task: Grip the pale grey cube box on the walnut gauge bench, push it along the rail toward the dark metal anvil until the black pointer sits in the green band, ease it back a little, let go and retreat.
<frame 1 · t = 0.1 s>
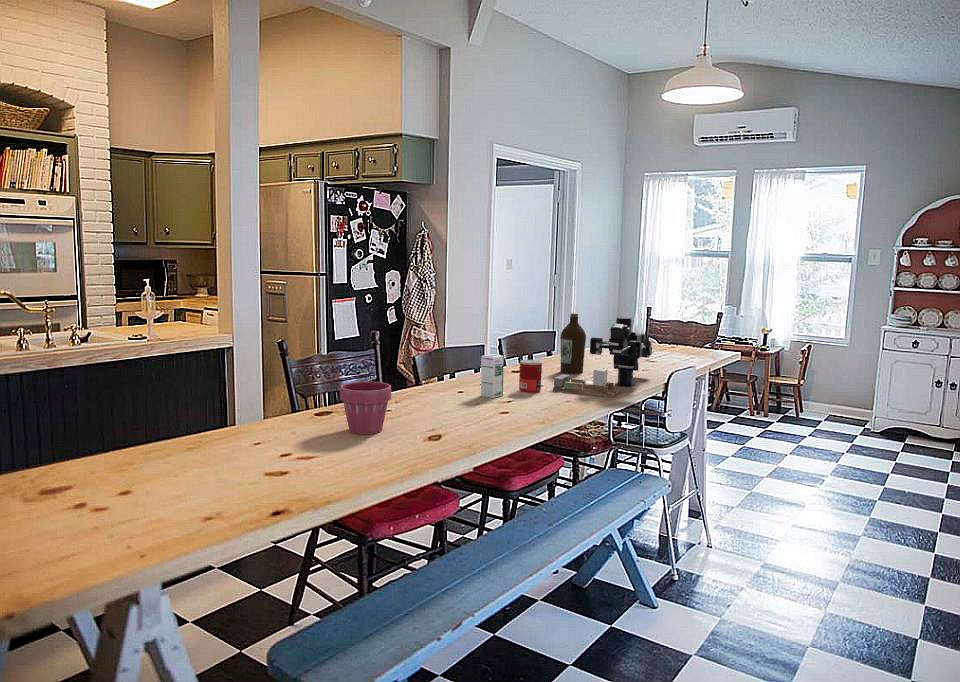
hand: (609, 350, 254), 17 cm above the table, tool horizontal, fingers open, 9 cm apart
olive oil: (571, 372, 304), on the table
gauge bench: (586, 391, 264), on the table
syrup box: (491, 396, 251), on the table
pale grey cube box: (593, 379, 262), point 5 cm above the table, slide at 0.0 cm
canned food: (529, 391, 262), on the table
plant pot: (365, 431, 200), on the table
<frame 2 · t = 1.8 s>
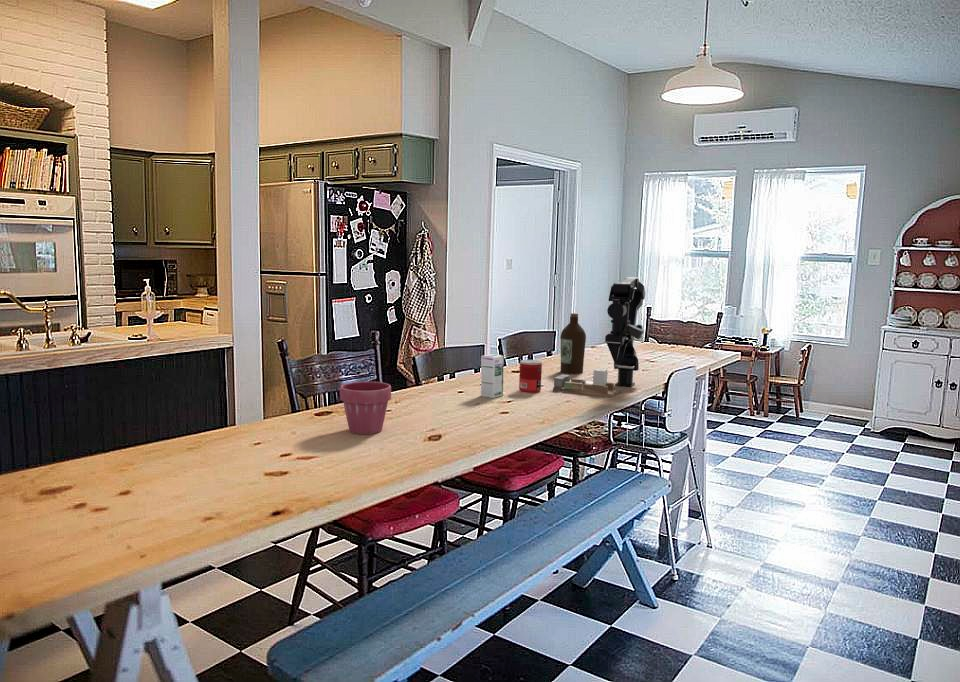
hand: (618, 359, 262), 12 cm above the table, tool pointing down, fingers open, 9 cm apart
nothing on the table moved.
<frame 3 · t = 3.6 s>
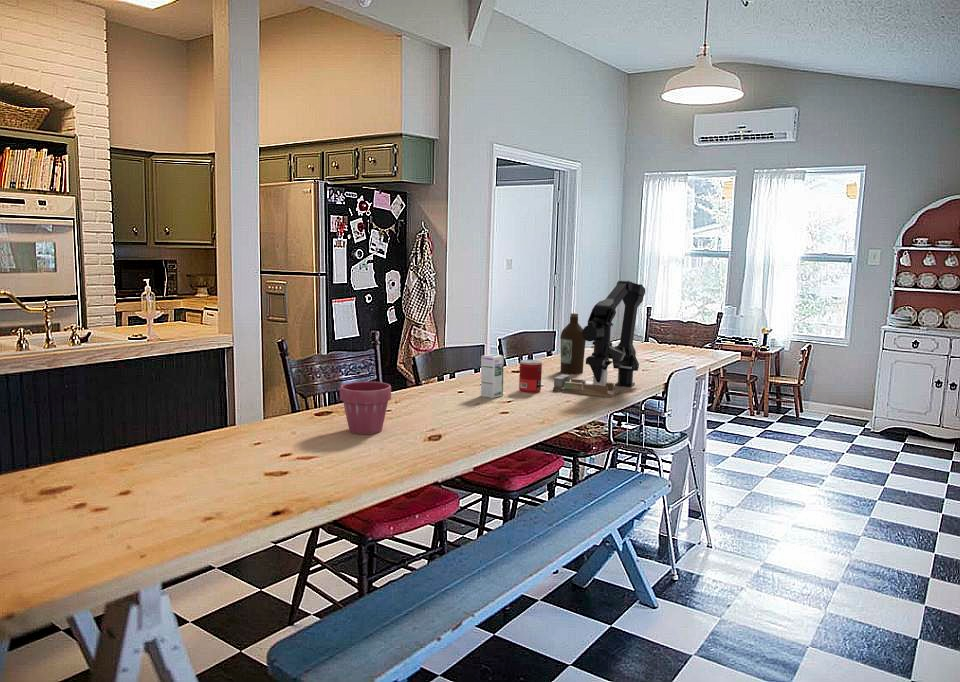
hand: (600, 381, 262), 4 cm above the table, tool pointing down, fingers closed on pale grey cube box, 4 cm apart
pale grey cube box: (593, 379, 262), point 5 cm above the table, slide at 0.0 cm, touching gripper
everything else where it was.
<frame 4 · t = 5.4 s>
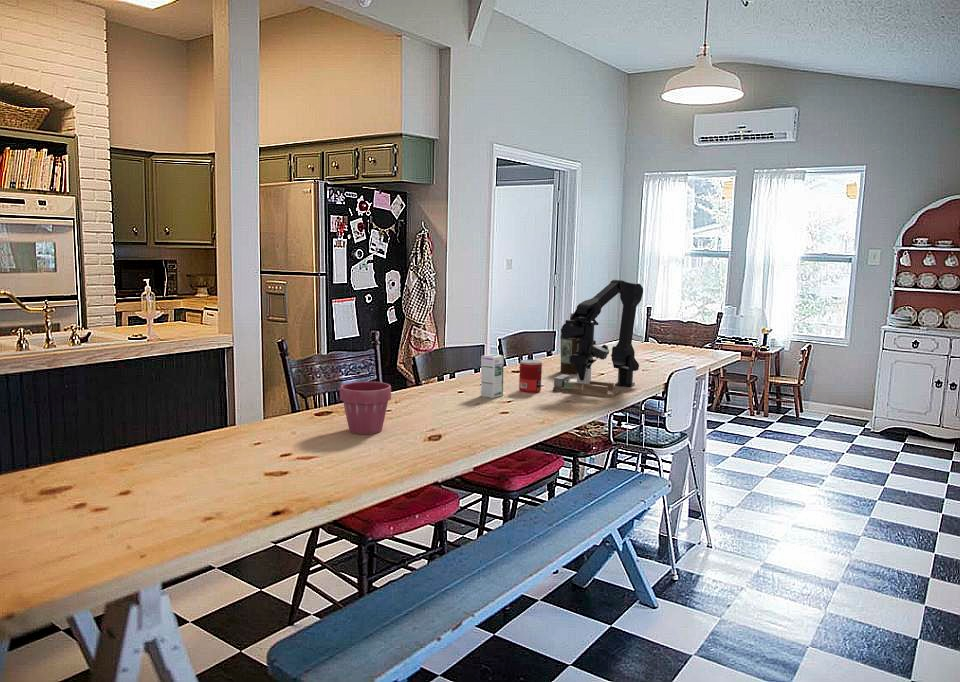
hand: (583, 379, 264), 4 cm above the table, tool pointing down, fingers closed on pale grey cube box, 4 cm apart
pale grey cube box: (577, 377, 264), point 5 cm above the table, slide at 6.1 cm, touching gripper
everything else where it was.
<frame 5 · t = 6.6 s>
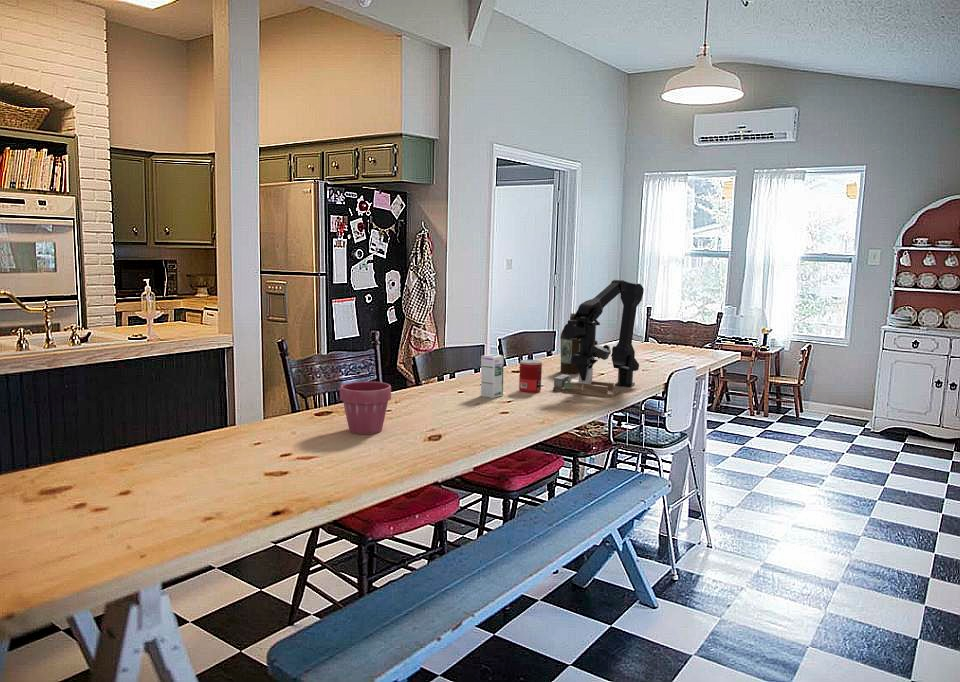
hand: (585, 379, 264), 4 cm above the table, tool pointing down, fingers closed on pale grey cube box, 4 cm apart
pale grey cube box: (578, 377, 264), point 5 cm above the table, slide at 5.5 cm, touching gripper
everything else where it was.
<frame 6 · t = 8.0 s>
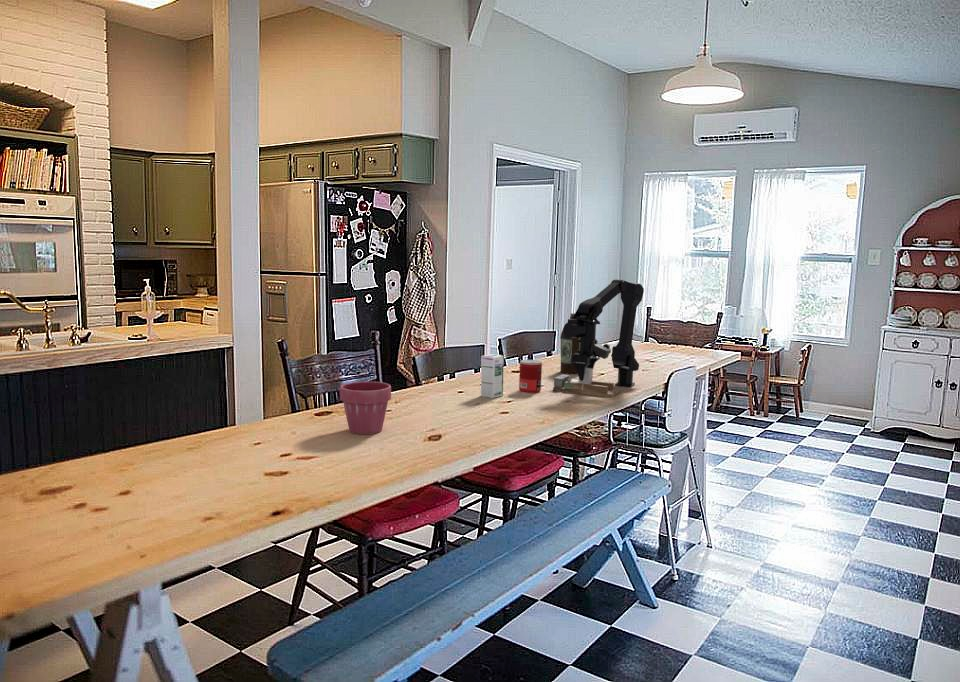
hand: (585, 378, 264), 5 cm above the table, tool pointing down, fingers open, 9 cm apart
pale grey cube box: (578, 377, 264), point 5 cm above the table, slide at 5.5 cm
everything else where it was.
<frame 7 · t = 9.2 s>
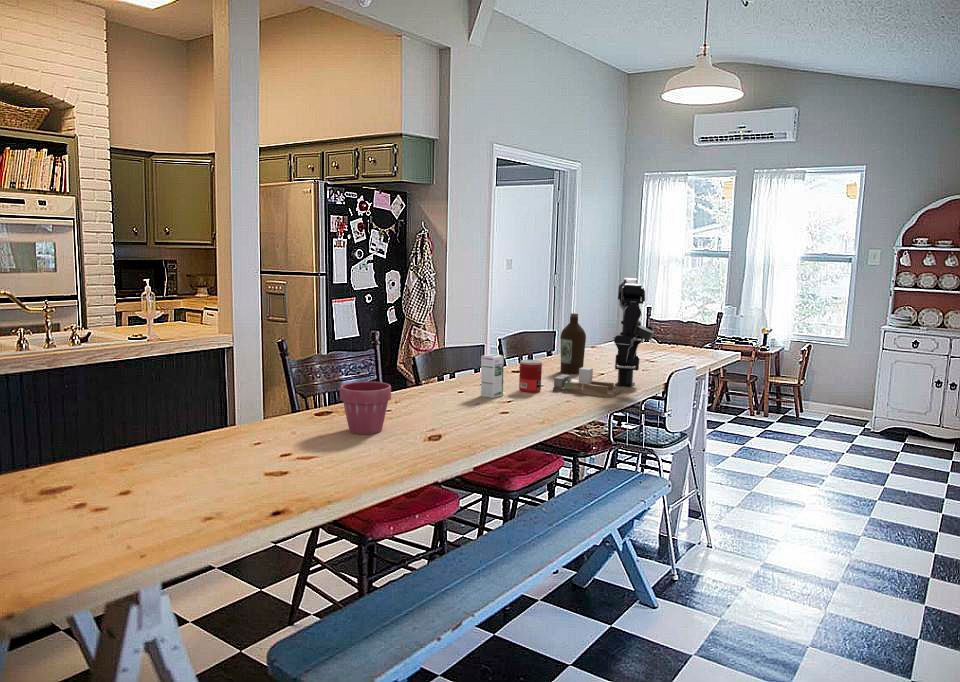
hand: (628, 360, 263), 12 cm above the table, tool pointing down, fingers open, 9 cm apart
nothing on the table moved.
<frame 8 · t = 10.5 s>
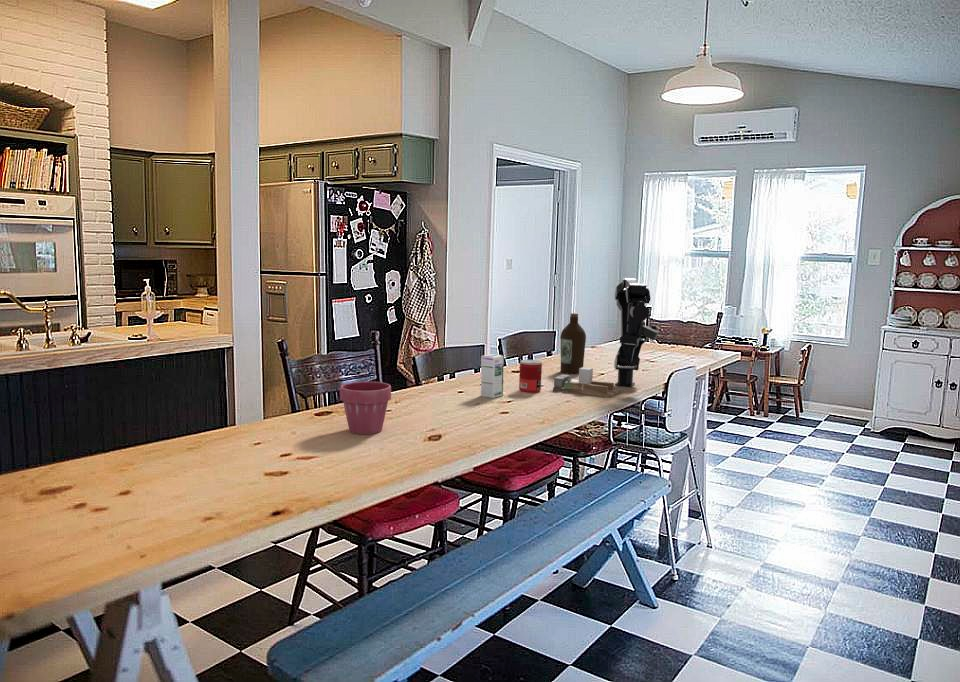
hand: (633, 360, 263), 12 cm above the table, tool pointing down, fingers open, 9 cm apart
nothing on the table moved.
at the end: pale grey cube box slide at 5.5 cm; the gripper is holding nothing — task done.
